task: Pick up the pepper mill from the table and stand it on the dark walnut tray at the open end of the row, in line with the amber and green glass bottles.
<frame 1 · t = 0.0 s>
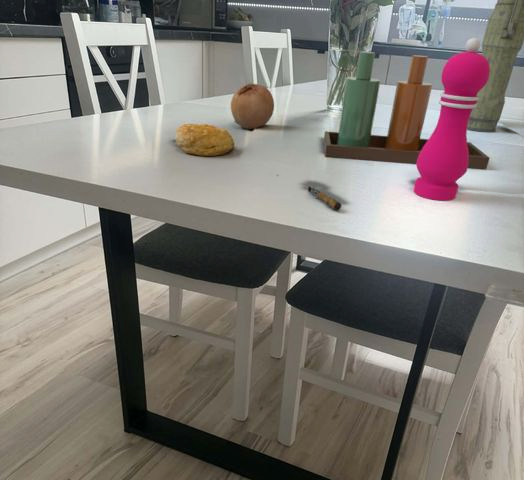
pepper mill: (433, 195, 73), on the table
tray: (399, 158, 91), on the table
amber bottle: (399, 154, 91), point 1 cm above the table, touching tray
onion: (251, 129, 107), on the table
green bottle: (352, 151, 91), point 1 cm above the table, touching tray
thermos: (477, 129, 123), on the table
bread roll: (205, 151, 88), on the table
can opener: (323, 202, 67), on the table
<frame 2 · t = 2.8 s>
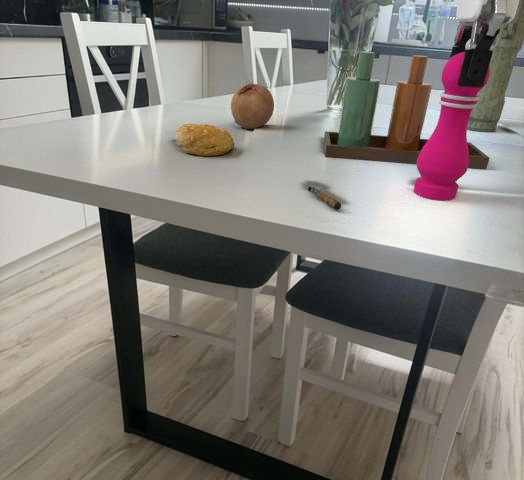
hand: (463, 82, 64), 15 cm above the table, tool pointing down, fingers closed on pepper mill, 6 cm apart
pepper mill: (433, 195, 73), on the table, touching gripper
everything else where it was.
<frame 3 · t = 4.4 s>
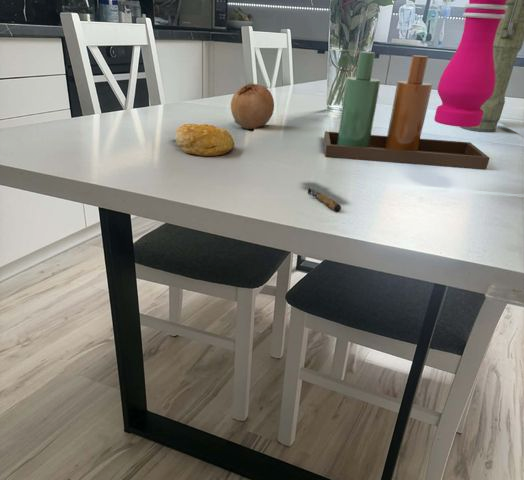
pepper mill: (456, 124, 68), point 10 cm above the table, touching gripper
everything else where it was.
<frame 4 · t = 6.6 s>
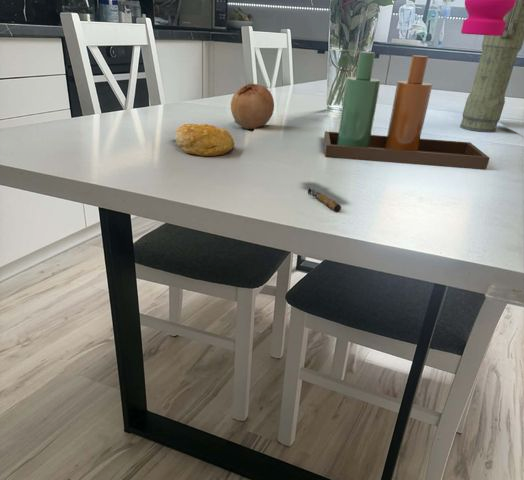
pepper mill: (481, 36, 75), point 20 cm above the table, touching gripper
everything else where it was.
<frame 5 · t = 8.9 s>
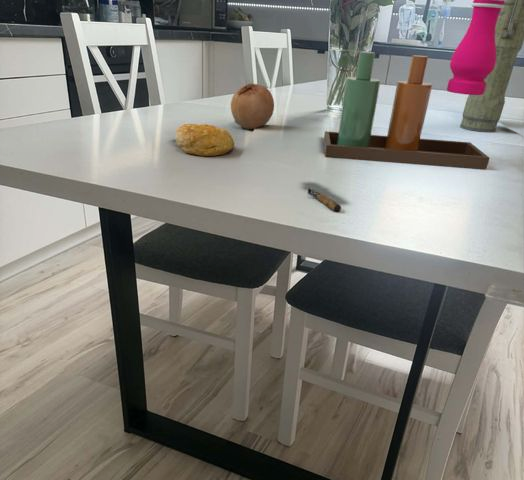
pepper mill: (464, 93, 84), point 11 cm above the table, touching gripper
everything else where it was.
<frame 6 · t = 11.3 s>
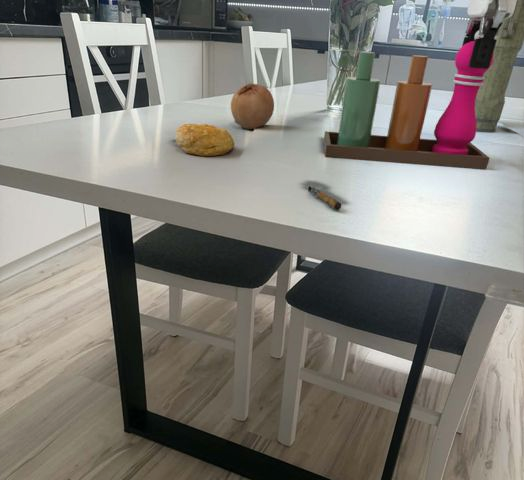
hand: (472, 65, 82), 16 cm above the table, tool pointing down, fingers closed on pepper mill, 6 cm apart
pepper mill: (447, 158, 90), point 1 cm above the table, touching gripper
everything else where it was.
when the fingers open (16 cm above the table, at t = 11.8 s): pepper mill stays where it is, resting on tray.
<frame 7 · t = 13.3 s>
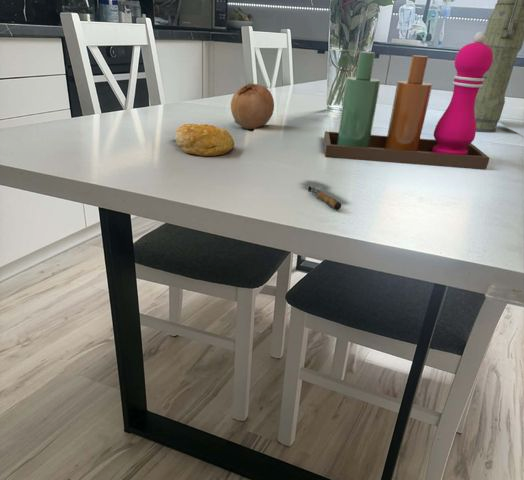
pepper mill: (447, 159, 91), resting on tray
everything else where it was.
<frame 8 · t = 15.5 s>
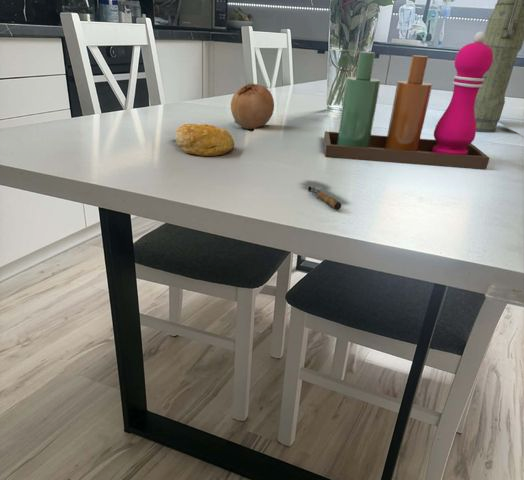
nothing on the table moved.
at the end: pepper mill 0.0 cm from the target spot in the tray, point 0.4 cm above the tray's base; pepper mill tilted 0°; the gripper is holding nothing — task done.
